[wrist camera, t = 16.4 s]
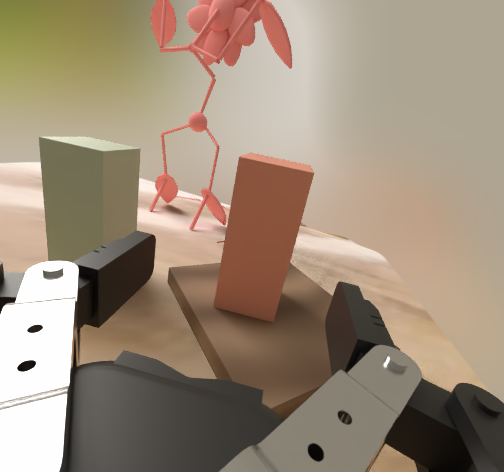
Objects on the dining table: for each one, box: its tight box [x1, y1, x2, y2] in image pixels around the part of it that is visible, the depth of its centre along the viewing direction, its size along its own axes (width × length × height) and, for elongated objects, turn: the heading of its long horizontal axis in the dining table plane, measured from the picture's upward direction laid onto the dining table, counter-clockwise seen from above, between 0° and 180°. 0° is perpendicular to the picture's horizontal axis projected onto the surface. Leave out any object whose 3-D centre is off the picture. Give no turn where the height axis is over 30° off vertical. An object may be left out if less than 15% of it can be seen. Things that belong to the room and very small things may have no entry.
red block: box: [213, 153, 314, 322], centre depth 23 cm, size 5×5×12 cm
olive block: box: [39, 137, 140, 263], centre depth 24 cm, size 5×5×12 cm
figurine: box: [149, 0, 292, 243], centre depth 43 cm, size 15×26×35 cm, turn 57°
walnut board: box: [168, 263, 400, 419], centre depth 25 cm, size 16×14×2 cm
